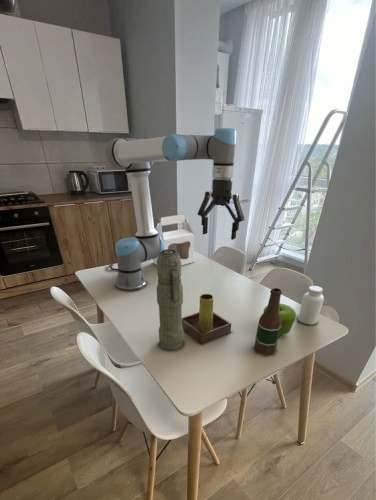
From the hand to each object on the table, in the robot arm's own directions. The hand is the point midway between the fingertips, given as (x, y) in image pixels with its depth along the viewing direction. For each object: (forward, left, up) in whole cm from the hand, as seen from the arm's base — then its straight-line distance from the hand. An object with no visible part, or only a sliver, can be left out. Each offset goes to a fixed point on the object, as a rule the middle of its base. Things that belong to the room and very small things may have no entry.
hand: (218, 236), depth 120 cm
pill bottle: (+36, +22, -31) cm, 52 cm away
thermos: (+18, -36, -31) cm, 50 cm away
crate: (+17, -19, -31) cm, 40 cm away
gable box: (-56, +13, -31) cm, 65 cm away
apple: (+34, +4, -31) cm, 46 cm away
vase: (+17, -19, -30) cm, 40 cm away
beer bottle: (+40, -9, -31) cm, 51 cm away
